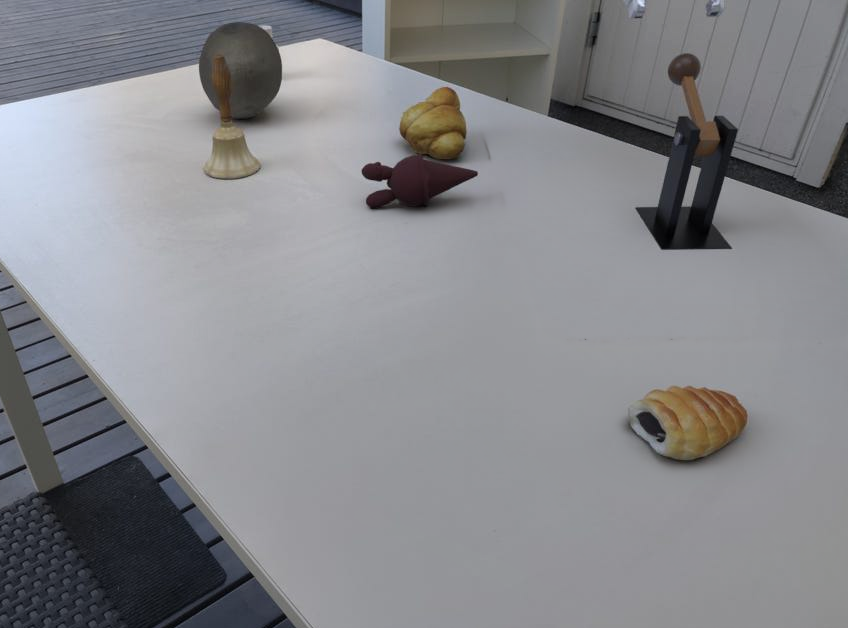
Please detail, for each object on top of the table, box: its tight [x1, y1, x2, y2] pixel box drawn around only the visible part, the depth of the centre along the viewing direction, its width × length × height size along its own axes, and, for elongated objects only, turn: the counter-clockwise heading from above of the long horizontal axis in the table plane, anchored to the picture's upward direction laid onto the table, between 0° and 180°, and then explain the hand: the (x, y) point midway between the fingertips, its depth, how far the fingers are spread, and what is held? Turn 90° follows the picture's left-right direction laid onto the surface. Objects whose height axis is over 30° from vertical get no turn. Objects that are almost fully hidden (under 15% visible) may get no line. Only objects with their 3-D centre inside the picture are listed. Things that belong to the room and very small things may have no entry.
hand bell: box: [203, 54, 262, 180], centre depth 105 cm, size 8×8×16 cm
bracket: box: [634, 115, 739, 251], centre depth 86 cm, size 11×8×14 cm
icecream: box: [361, 152, 479, 209], centre depth 97 cm, size 7×7×15 cm
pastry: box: [627, 385, 748, 461], centre depth 61 cm, size 9×7×4 cm
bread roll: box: [398, 86, 468, 160], centre depth 111 cm, size 13×10×8 cm
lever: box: [667, 52, 720, 156], centre depth 85 cm, size 14×4×4 cm, turn 179°
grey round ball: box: [198, 21, 283, 120], centre depth 123 cm, size 14×14×15 cm
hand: (676, 14), depth 90 cm, fingers open, 8 cm apart
